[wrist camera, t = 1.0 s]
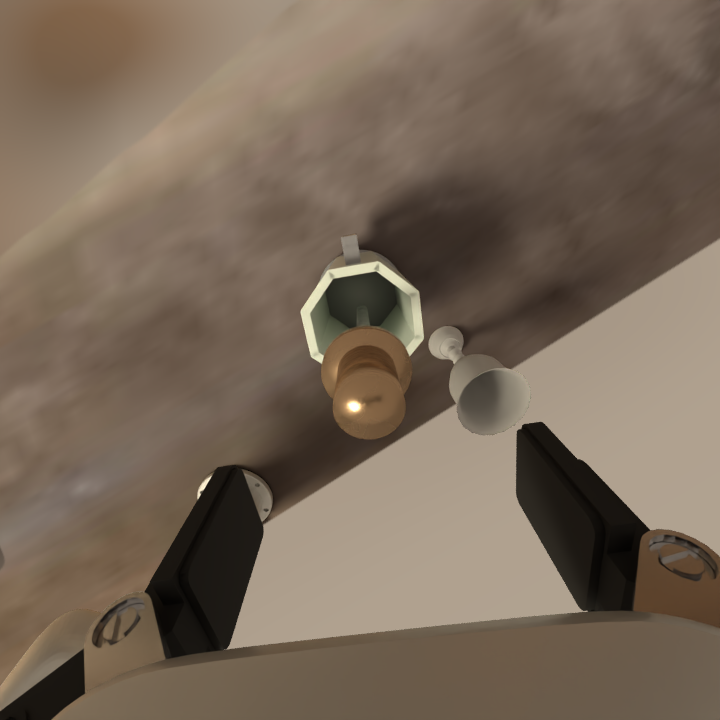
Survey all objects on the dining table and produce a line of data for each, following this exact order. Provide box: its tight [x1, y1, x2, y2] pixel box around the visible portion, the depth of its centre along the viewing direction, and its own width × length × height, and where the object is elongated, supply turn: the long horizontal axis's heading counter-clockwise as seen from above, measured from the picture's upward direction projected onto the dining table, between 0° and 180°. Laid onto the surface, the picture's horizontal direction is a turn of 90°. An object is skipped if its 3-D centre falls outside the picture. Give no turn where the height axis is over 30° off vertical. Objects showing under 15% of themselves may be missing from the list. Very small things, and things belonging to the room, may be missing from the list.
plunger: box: [321, 305, 412, 439], centre depth 26 cm, size 6×6×21 cm
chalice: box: [429, 326, 531, 435], centre depth 40 cm, size 7×7×18 cm
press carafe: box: [301, 234, 424, 364], centre depth 38 cm, size 14×12×16 cm
